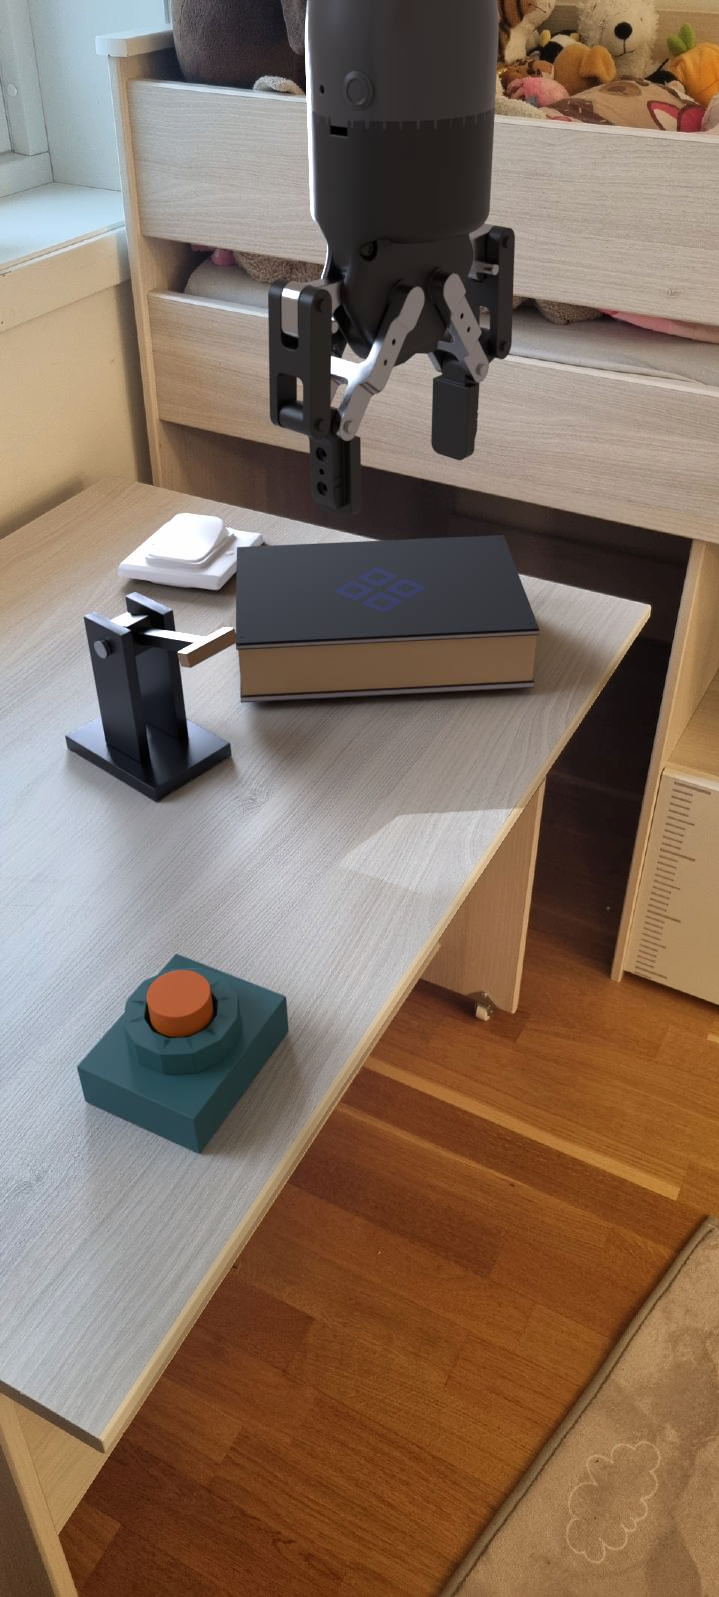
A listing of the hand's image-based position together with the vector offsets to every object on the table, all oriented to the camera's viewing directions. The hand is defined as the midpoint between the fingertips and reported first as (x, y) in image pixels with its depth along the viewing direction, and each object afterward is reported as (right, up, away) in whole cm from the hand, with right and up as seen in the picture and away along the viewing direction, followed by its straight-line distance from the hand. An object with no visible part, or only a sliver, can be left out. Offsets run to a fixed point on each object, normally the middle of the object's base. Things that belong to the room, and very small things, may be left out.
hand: (397, 481), depth 58 cm
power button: (-12, -28, +11) cm, 32 cm away
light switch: (-19, +9, +65) cm, 69 cm away
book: (0, -2, +51) cm, 51 cm away
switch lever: (-16, -5, +30) cm, 34 cm away
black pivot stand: (-19, -12, +39) cm, 45 cm away
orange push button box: (-12, -31, +14) cm, 36 cm away
